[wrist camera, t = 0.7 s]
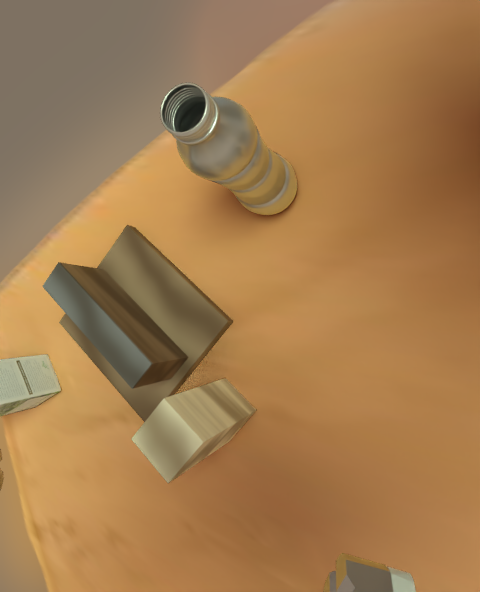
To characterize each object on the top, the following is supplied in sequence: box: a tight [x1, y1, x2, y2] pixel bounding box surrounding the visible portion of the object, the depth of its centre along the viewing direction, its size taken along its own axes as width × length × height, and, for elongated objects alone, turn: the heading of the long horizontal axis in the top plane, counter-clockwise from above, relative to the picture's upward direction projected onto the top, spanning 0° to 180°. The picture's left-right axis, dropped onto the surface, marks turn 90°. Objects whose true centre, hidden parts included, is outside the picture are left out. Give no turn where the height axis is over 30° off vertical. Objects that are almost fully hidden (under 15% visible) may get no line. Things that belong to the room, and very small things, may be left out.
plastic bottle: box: [160, 83, 297, 215], centre depth 38 cm, size 6×7×20 cm
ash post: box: [132, 378, 256, 483], centre depth 42 cm, size 5×5×13 cm
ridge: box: [43, 225, 233, 422], centre depth 48 cm, size 16×18×9 cm
